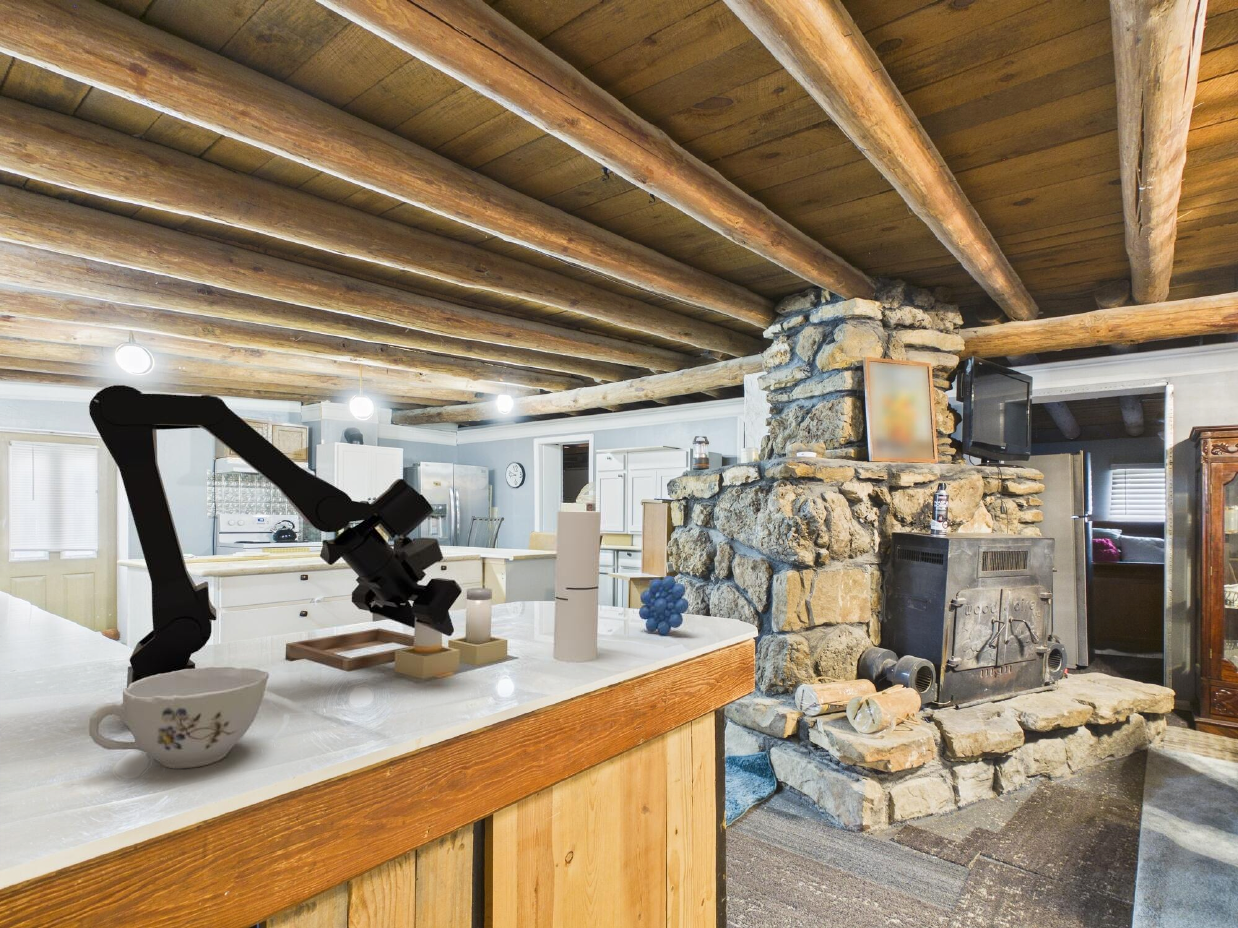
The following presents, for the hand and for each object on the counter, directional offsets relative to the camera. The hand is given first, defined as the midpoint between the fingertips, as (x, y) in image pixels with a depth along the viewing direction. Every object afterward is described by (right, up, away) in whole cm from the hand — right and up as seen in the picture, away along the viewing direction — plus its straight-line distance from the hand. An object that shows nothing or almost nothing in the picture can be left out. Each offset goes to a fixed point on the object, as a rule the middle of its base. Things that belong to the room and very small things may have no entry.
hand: (435, 630), depth 103 cm
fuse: (+5, -6, +7) cm, 10 cm away
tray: (-14, -7, +9) cm, 18 cm away
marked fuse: (-1, -6, -1) cm, 6 cm away
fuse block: (+2, -7, +3) cm, 8 cm away
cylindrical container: (+20, -8, +9) cm, 24 cm away
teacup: (-16, -5, -34) cm, 38 cm away
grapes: (+37, -10, +35) cm, 52 cm away
